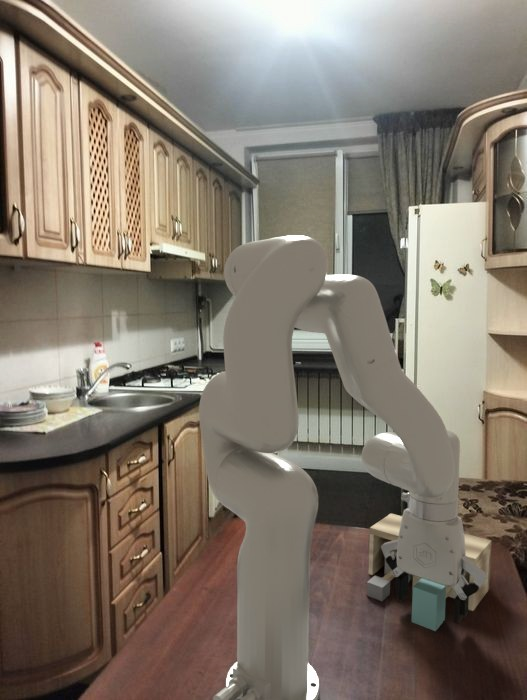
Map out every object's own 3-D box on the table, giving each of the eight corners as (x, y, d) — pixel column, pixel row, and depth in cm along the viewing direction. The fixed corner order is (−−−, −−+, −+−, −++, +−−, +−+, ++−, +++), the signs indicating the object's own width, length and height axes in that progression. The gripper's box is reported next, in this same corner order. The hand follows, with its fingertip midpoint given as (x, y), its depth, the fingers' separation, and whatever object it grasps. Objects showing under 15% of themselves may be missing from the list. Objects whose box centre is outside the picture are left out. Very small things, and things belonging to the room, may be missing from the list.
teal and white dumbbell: (438, 632, 86) (440, 596, 86) (408, 620, 89) (409, 585, 89) (472, 589, 99) (474, 558, 99) (445, 580, 102) (446, 549, 102)
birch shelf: (473, 611, 92) (475, 558, 91) (368, 573, 105) (369, 527, 104) (489, 589, 99) (491, 540, 98) (389, 556, 112) (390, 513, 111)
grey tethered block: (387, 603, 95) (388, 575, 94) (361, 593, 98) (362, 566, 97) (419, 572, 105) (420, 547, 105) (395, 564, 109) (396, 540, 108)
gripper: (373, 501, 90) (371, 599, 92) (481, 528, 79) (476, 639, 81) (393, 488, 96) (391, 581, 98) (496, 512, 85) (491, 616, 87)
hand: (430, 607), depth 89 cm, fingers open, 9 cm apart
